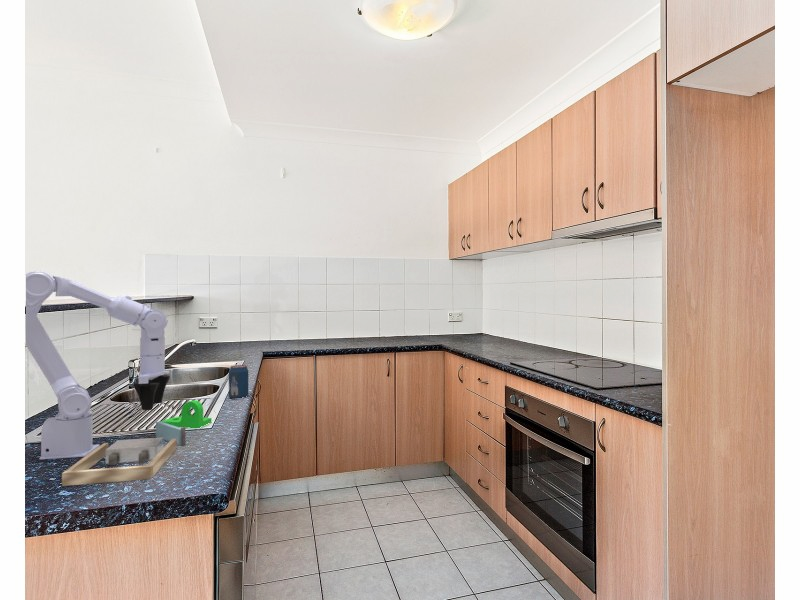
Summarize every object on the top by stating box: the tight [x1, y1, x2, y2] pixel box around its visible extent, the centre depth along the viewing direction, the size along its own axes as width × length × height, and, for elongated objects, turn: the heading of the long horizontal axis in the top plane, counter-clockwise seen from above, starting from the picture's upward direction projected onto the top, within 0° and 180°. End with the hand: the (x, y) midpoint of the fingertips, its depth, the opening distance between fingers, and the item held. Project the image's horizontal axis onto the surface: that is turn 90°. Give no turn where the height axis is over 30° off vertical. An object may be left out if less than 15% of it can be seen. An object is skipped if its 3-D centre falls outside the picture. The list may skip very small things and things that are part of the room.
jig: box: [61, 427, 187, 487], centre depth 100 cm, size 18×22×4 cm
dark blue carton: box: [228, 364, 249, 398], centre depth 166 cm, size 7×7×12 cm
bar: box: [155, 420, 181, 446], centre depth 116 cm, size 1×12×4 cm, turn 54°
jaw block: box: [104, 437, 165, 465], centre depth 104 cm, size 10×7×4 cm
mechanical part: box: [161, 399, 212, 429], centre depth 130 cm, size 12×6×8 cm, turn 80°
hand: (152, 406), depth 118 cm, fingers open, 7 cm apart
